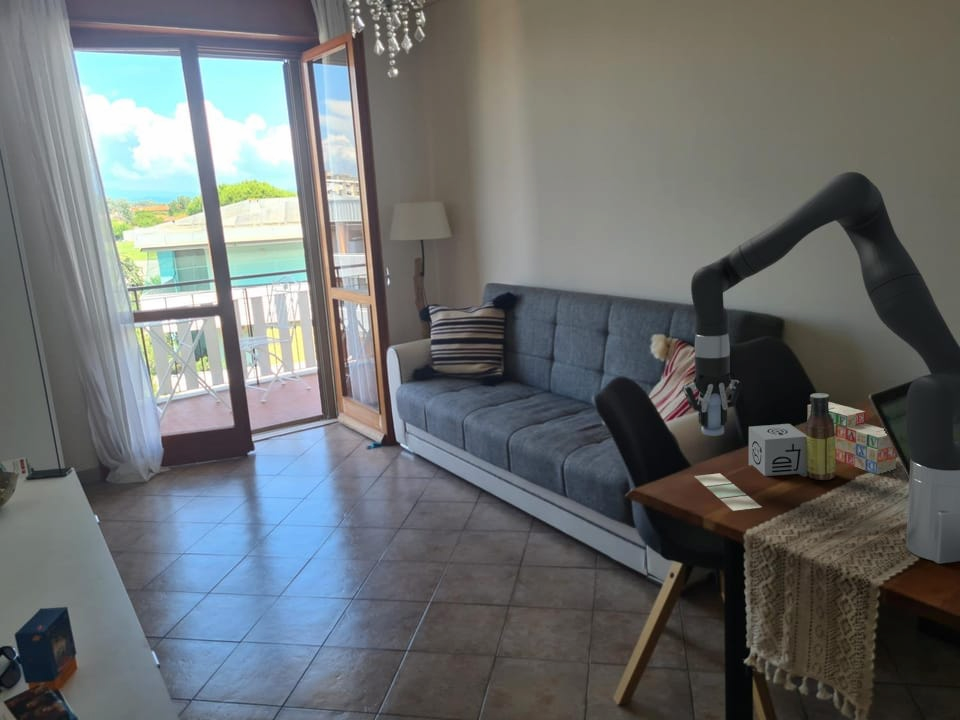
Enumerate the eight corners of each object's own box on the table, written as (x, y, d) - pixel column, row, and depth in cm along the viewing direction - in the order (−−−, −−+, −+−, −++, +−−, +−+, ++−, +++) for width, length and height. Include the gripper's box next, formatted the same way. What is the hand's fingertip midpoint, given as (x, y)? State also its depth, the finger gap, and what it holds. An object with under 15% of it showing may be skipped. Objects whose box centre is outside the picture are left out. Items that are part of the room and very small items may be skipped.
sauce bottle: (829, 471, 169) (831, 390, 165) (839, 481, 163) (842, 397, 159) (800, 472, 170) (802, 392, 166) (809, 482, 164) (811, 399, 160)
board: (764, 511, 151) (764, 507, 150) (732, 515, 150) (732, 511, 150) (720, 476, 171) (720, 472, 171) (692, 479, 170) (692, 475, 170)
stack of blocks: (896, 470, 167) (899, 420, 164) (876, 475, 165) (878, 425, 162) (825, 445, 187) (826, 400, 184) (806, 449, 185) (807, 403, 182)
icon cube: (807, 476, 167) (808, 436, 165) (764, 480, 167) (765, 439, 165) (788, 462, 177) (789, 423, 175) (748, 465, 177) (748, 426, 175)
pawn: (727, 434, 163) (727, 392, 161) (706, 436, 162) (706, 394, 160) (718, 428, 168) (718, 387, 165) (698, 430, 167) (697, 389, 165)
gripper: (734, 347, 165) (734, 418, 169) (675, 352, 164) (677, 424, 168) (749, 353, 158) (749, 427, 162) (688, 359, 157) (689, 433, 160)
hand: (712, 425), depth 164 cm, fingers closed on pawn, 3 cm apart
